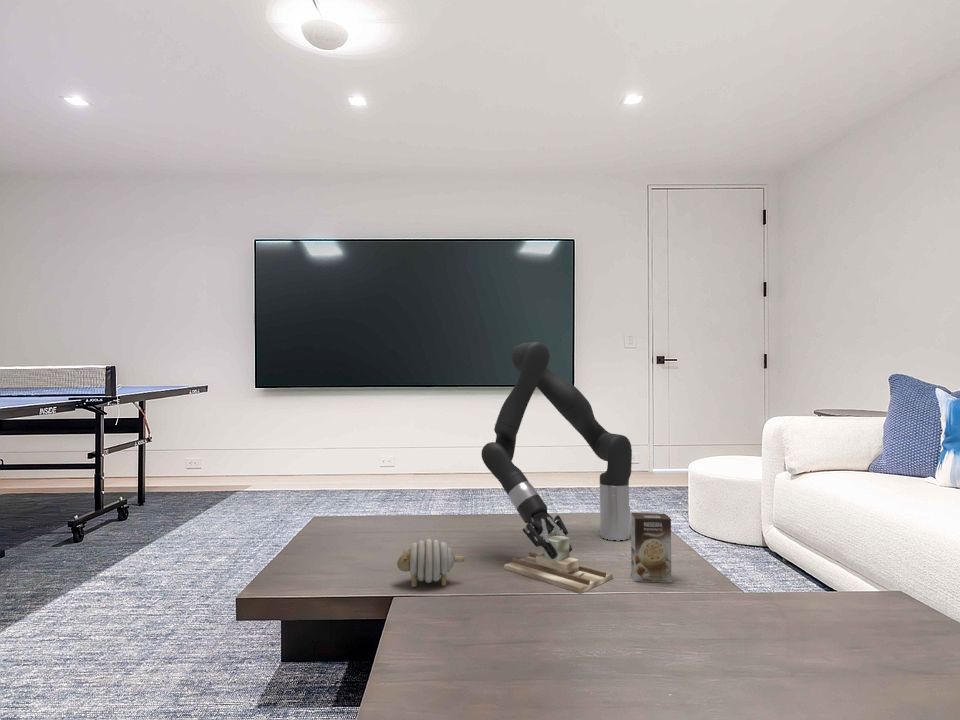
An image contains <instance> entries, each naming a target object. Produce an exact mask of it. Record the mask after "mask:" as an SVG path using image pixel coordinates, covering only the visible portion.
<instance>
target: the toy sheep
mask: <svg viewBox="0 0 960 720" xmlns="http://www.w3.org/2000/svg"><path fill="white" fill-rule="evenodd" d="M463 562H465V557H464V556H463V555H454V552H453V550H452V548H451V547H450V546H448V544H447V542H445V541H441V542H440V541H439V539H434V540H432V538H427V539H425V541H424V539H420V540H419V541H418V542H412V543H411V544H410V548H409V549H407V550H403V551H402V554H401V555H400V556H399V558H398V560H397V563H396V565H397V568H398V570H399V571H401V572H409V573H410V580H412V581H411V587H412V588H413V587H415V588H416V587H417V586H418V584H417V582H418V581H420V582H423V581H424V580H425V582H426V584H430V583H433V581H434V582H439V580H440V579H441V581H440V582H441V586H442V587H446V585H447V574H448V573H450V572H451V570H452V569H453V567H454V564H455V563H463ZM417 580H418V581H417Z"/></svg>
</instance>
